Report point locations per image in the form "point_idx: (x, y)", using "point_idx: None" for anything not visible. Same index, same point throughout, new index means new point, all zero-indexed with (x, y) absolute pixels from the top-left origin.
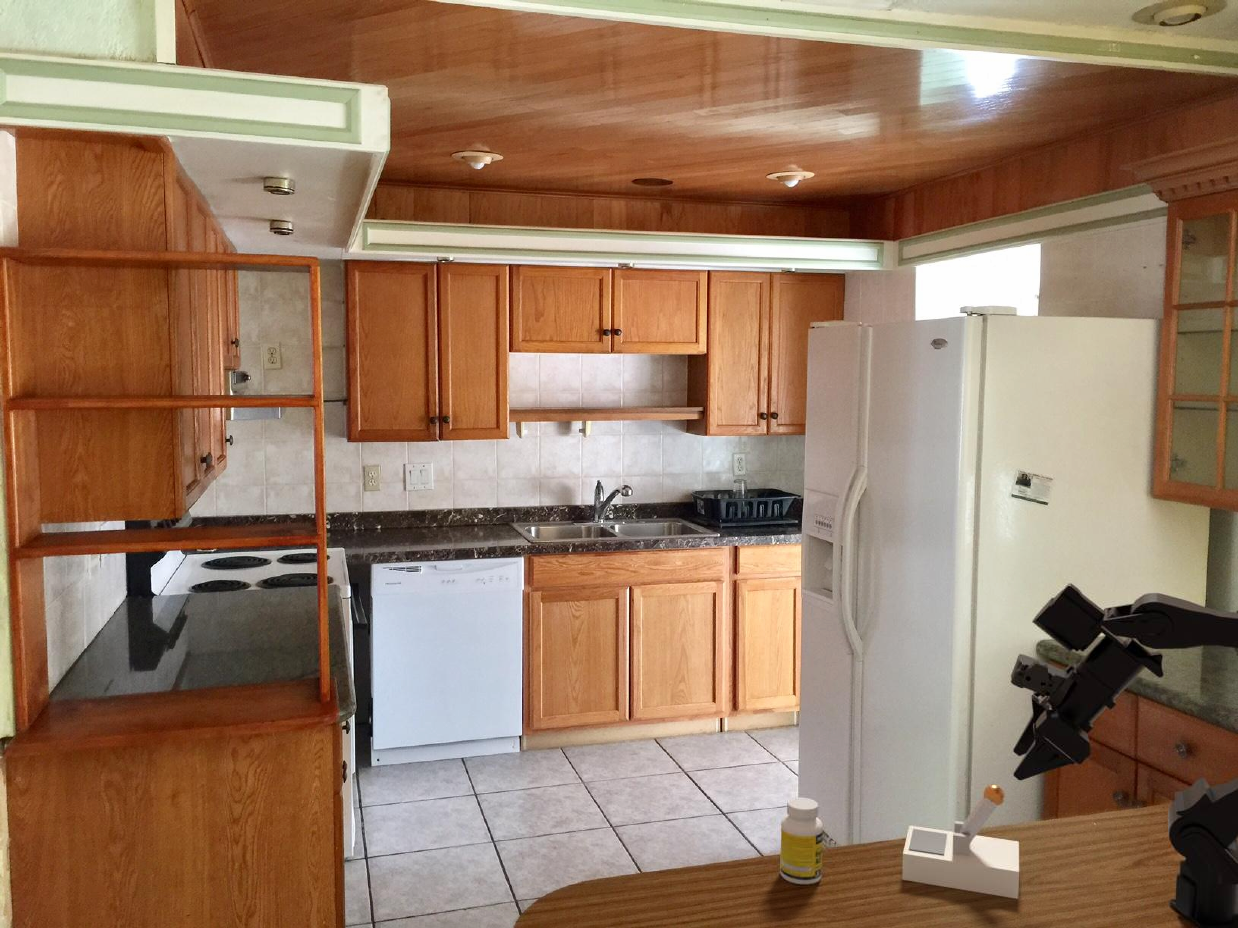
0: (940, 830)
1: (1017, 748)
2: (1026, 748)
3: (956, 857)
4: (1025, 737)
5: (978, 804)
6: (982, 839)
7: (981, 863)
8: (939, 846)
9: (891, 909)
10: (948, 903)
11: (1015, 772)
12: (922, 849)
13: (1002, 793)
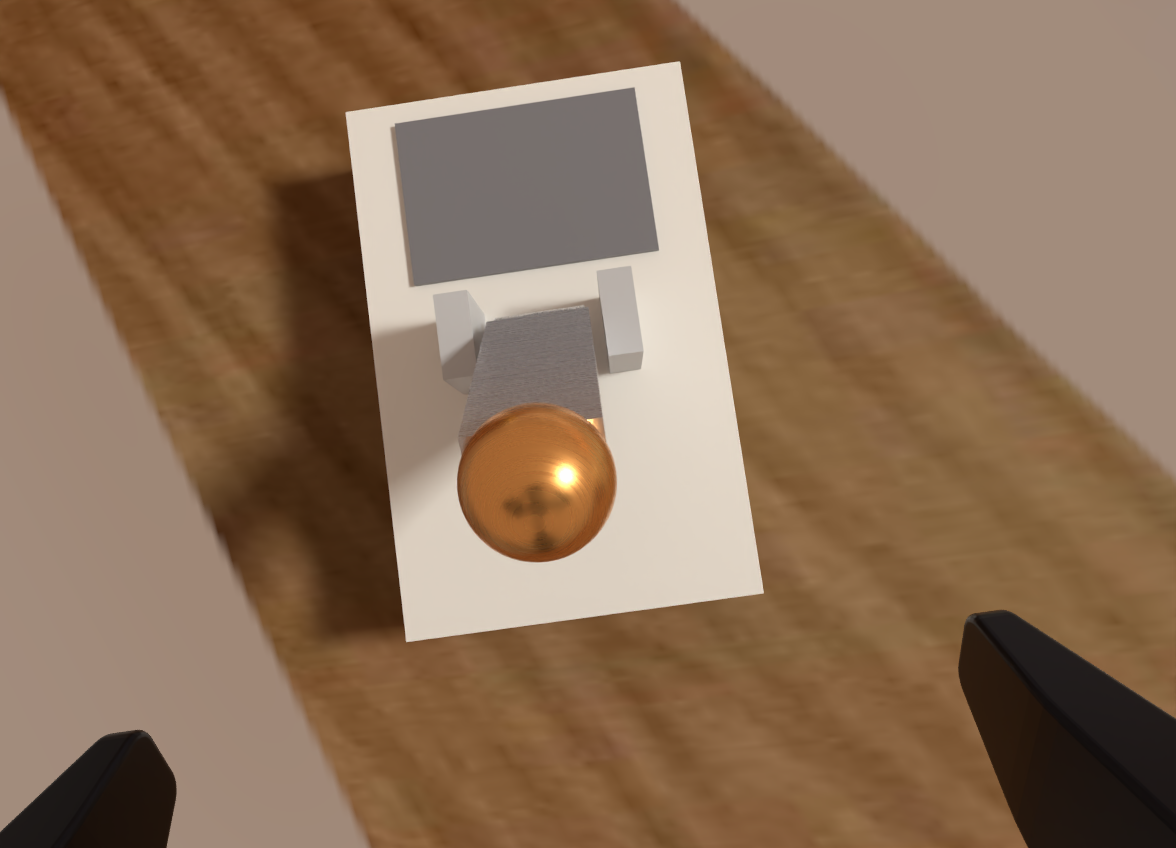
0: (695, 210)
1: (990, 670)
2: (1018, 788)
3: (420, 343)
4: (1119, 824)
5: (551, 381)
6: (695, 420)
7: (413, 463)
8: (491, 247)
9: (122, 189)
10: (267, 373)
11: (70, 769)
12: (416, 182)
13: (510, 550)
